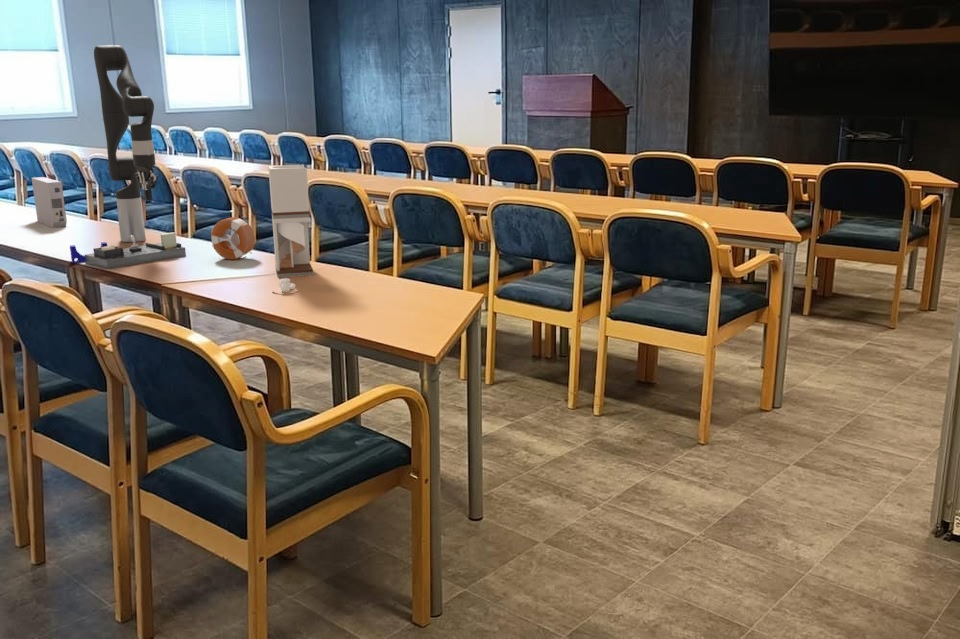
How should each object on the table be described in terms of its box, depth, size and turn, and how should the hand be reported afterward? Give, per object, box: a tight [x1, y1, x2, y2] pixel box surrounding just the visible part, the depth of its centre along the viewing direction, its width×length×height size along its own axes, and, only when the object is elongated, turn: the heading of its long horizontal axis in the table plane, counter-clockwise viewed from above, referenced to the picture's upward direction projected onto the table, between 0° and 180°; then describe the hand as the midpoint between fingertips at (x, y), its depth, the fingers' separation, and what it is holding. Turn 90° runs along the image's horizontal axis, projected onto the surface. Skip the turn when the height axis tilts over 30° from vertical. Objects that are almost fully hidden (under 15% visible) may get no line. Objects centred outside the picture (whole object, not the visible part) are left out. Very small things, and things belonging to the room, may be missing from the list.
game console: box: [31, 176, 68, 228], centre depth 398 cm, size 6×27×20 cm, turn 40°
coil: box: [210, 215, 256, 261], centre depth 318 cm, size 7×15×15 cm, turn 78°
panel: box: [84, 242, 187, 270], centre depth 320 cm, size 16×30×6 cm, turn 139°
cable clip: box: [69, 241, 108, 264], centre depth 319 cm, size 12×4×6 cm, turn 121°
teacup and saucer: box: [278, 277, 296, 293], centre depth 271 cm, size 9×8×4 cm
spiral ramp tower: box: [268, 164, 314, 278], centre depth 291 cm, size 11×11×35 cm
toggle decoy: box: [130, 235, 140, 248], centre depth 320 cm, size 1×2×5 cm, turn 139°
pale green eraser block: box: [160, 231, 177, 248], centre depth 325 cm, size 2×5×5 cm, turn 139°
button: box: [100, 245, 115, 250], centre depth 312 cm, size 4×4×3 cm
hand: (148, 200), depth 329 cm, fingers closed
